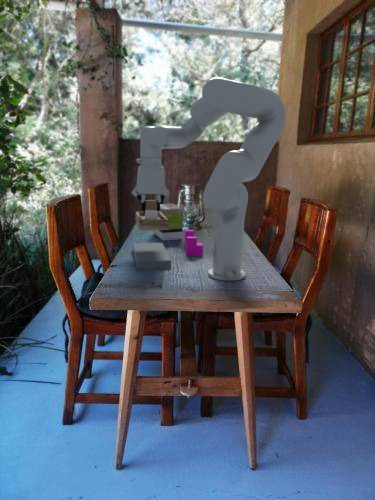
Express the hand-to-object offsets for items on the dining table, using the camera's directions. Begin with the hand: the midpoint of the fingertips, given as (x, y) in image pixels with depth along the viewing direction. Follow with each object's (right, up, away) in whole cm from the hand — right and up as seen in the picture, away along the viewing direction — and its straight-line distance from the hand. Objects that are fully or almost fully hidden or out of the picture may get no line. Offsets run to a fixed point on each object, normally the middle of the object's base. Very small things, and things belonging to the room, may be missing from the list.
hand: (150, 212), depth 149 cm
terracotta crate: (-37, -82, +24) cm, 93 cm away
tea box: (+4, -8, +42) cm, 43 cm away
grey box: (+1, -4, -6) cm, 7 cm away
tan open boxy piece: (0, -5, 0) cm, 5 cm away
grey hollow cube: (+1, +9, +103) cm, 104 cm away
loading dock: (0, -17, +5) cm, 18 cm away
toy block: (+16, -15, +18) cm, 28 cm away
